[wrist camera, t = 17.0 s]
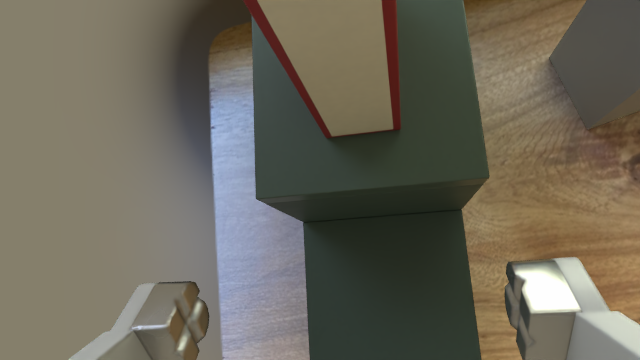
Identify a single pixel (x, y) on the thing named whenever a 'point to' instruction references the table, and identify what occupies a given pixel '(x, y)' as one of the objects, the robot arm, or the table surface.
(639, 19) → the perfume bottle
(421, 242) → the shelf
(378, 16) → the book
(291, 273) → the table surface
